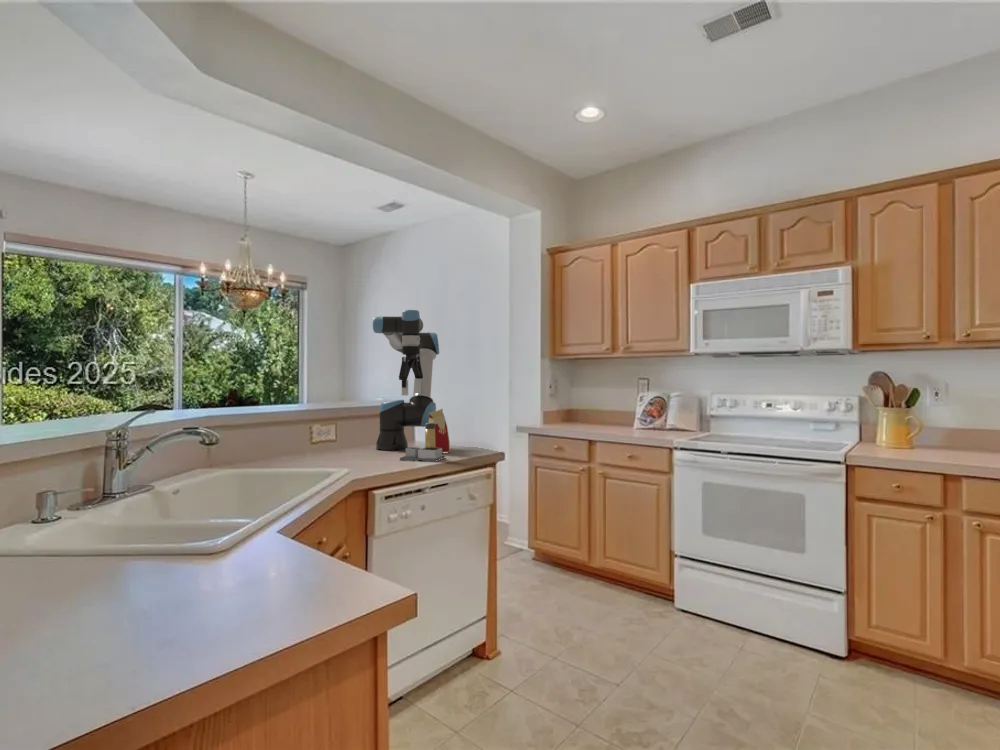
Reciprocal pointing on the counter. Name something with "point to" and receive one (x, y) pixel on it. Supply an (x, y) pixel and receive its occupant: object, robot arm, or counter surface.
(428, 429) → the brass valve
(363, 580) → the counter surface
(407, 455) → the manifold plate
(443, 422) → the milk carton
